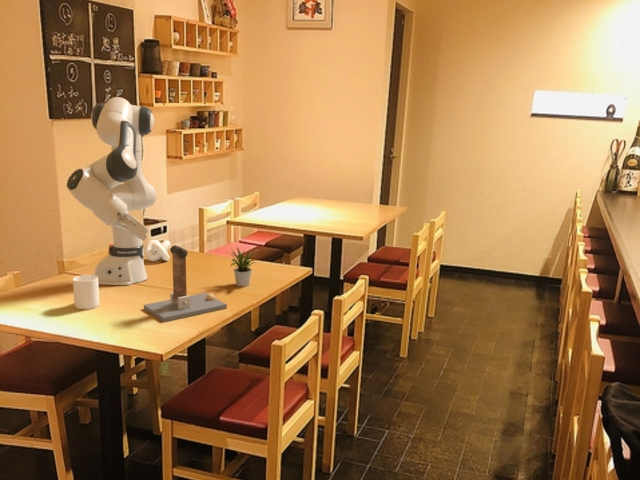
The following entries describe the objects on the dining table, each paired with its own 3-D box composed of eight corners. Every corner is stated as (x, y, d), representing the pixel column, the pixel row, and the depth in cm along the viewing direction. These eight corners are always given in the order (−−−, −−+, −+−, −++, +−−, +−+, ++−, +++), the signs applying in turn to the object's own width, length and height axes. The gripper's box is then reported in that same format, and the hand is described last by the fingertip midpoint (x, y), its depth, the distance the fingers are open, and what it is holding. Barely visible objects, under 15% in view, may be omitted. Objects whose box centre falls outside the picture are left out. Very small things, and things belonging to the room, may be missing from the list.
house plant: (214, 286, 237) (214, 246, 233) (232, 277, 250) (232, 239, 246) (246, 291, 232) (246, 250, 228) (263, 282, 245) (263, 243, 241)
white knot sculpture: (157, 255, 282) (156, 237, 280) (178, 258, 278) (178, 239, 276) (141, 261, 272) (140, 241, 270) (163, 264, 268) (162, 244, 266)
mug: (85, 298, 219) (83, 271, 217) (107, 299, 219) (105, 272, 216) (70, 309, 207) (68, 281, 205) (93, 310, 207) (92, 282, 205)
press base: (163, 322, 198) (163, 306, 197) (143, 308, 210) (143, 293, 209) (226, 308, 213) (226, 293, 212) (204, 296, 225) (204, 282, 224)
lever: (180, 303, 206) (178, 249, 202) (171, 298, 211) (170, 245, 206) (188, 301, 208) (187, 248, 204) (180, 296, 213) (178, 244, 208)
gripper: (132, 208, 181) (163, 236, 189) (107, 199, 196) (137, 225, 205) (118, 224, 179) (150, 251, 188) (94, 213, 195) (125, 239, 203)
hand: (143, 237), depth 196 cm, fingers closed
